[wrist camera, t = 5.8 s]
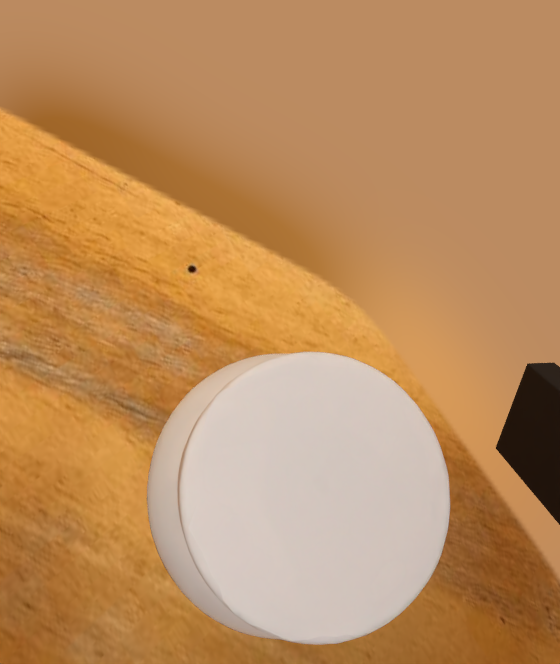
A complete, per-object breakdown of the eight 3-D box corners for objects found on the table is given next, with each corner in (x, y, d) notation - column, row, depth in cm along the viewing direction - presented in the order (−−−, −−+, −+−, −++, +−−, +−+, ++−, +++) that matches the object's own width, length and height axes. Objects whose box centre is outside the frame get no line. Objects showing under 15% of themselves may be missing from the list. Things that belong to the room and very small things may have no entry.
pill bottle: (355, 462, 17) (555, 444, 7) (267, 607, 15) (392, 815, 6) (230, 370, 17) (278, 243, 8) (129, 503, 15) (32, 543, 6)
